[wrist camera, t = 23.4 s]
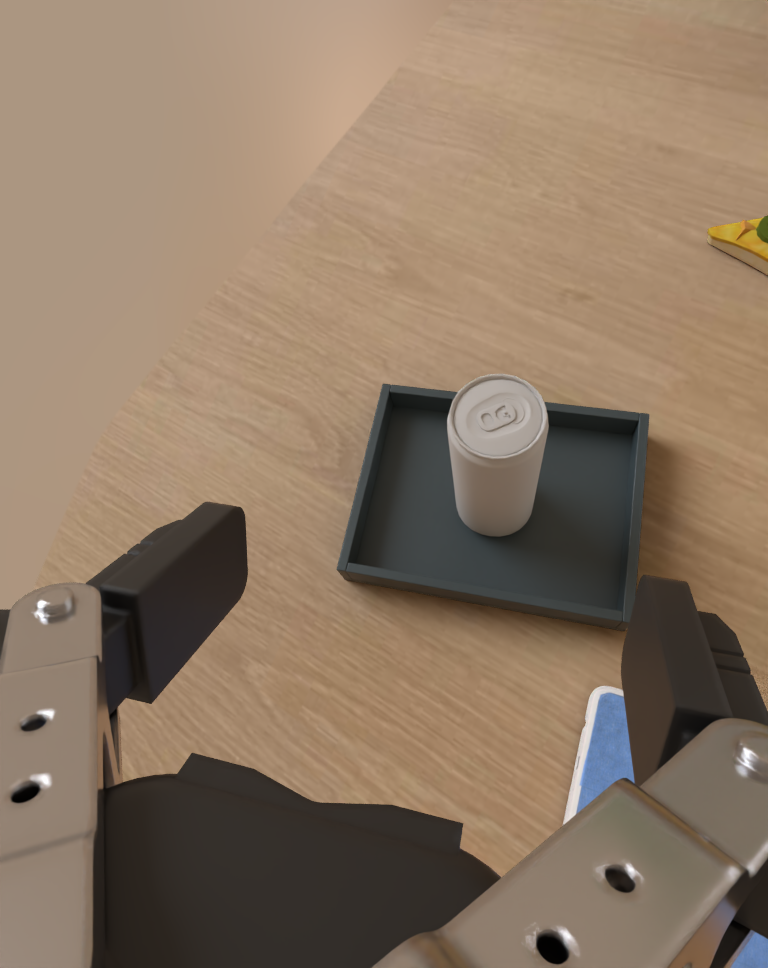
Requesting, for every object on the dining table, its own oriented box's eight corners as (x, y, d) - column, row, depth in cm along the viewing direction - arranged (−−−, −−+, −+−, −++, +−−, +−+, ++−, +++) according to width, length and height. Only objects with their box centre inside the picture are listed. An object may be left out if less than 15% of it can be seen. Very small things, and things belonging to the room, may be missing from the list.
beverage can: (546, 522, 40) (569, 437, 29) (475, 552, 40) (471, 477, 29) (512, 459, 42) (522, 356, 31) (444, 487, 41) (430, 394, 31)
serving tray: (344, 579, 41) (336, 569, 38) (387, 401, 45) (382, 383, 43) (624, 631, 37) (633, 623, 35) (640, 431, 42) (649, 413, 39)
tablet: (541, 927, 32) (543, 934, 31) (591, 680, 36) (595, 678, 35) (987, 1110, 27) (1011, 1126, 26) (988, 802, 31) (1008, 805, 30)
